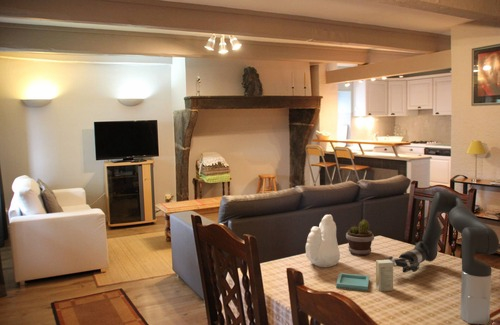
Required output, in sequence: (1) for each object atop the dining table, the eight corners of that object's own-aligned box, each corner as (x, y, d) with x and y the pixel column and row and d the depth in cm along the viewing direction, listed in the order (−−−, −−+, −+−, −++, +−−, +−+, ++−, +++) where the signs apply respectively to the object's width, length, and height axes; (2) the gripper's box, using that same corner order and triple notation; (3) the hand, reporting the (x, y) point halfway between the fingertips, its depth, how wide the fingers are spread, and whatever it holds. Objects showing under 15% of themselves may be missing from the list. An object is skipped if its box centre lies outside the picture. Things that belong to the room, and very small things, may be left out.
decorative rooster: (322, 256, 222) (322, 210, 219) (347, 264, 210) (347, 215, 207) (289, 267, 206) (289, 217, 203) (314, 276, 194) (314, 223, 191)
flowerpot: (340, 250, 231) (340, 214, 229) (364, 247, 236) (365, 212, 234) (354, 258, 218) (354, 220, 216) (379, 255, 222) (380, 218, 220)
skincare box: (389, 286, 181) (390, 259, 179) (393, 290, 176) (394, 262, 175) (374, 287, 180) (375, 259, 179) (378, 291, 176) (378, 262, 175)
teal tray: (367, 291, 176) (367, 286, 176) (336, 288, 180) (336, 283, 180) (369, 280, 188) (369, 275, 188) (339, 277, 192) (339, 272, 192)
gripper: (396, 248, 200) (379, 256, 188) (426, 254, 190) (410, 263, 178) (395, 263, 200) (379, 272, 189) (425, 270, 190) (409, 280, 179)
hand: (394, 268), depth 184 cm, fingers open, 8 cm apart
